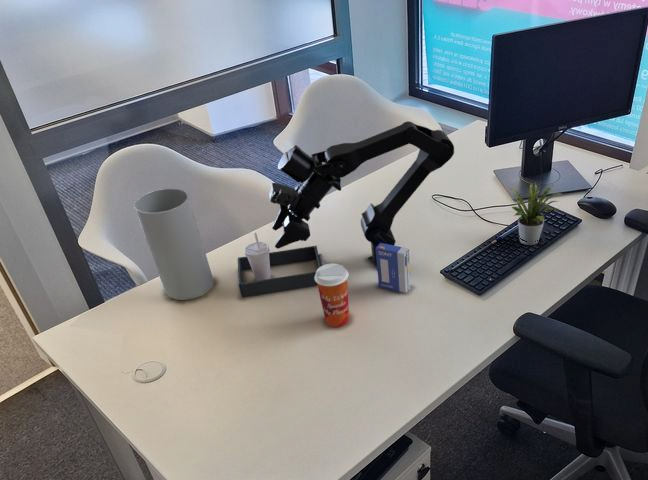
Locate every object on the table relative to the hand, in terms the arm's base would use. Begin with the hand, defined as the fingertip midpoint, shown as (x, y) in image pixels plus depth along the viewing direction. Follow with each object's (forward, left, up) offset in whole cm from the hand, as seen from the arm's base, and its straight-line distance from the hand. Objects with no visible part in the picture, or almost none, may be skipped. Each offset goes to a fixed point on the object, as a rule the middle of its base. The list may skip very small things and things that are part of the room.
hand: (274, 238), depth 156 cm
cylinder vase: (+11, +22, -12) cm, 27 cm away
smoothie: (+2, +5, -12) cm, 13 cm away
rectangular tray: (0, 0, -12) cm, 12 cm away
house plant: (-28, -63, -12) cm, 70 cm away
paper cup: (-25, -2, -12) cm, 28 cm away
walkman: (-22, -21, -12) cm, 33 cm away
